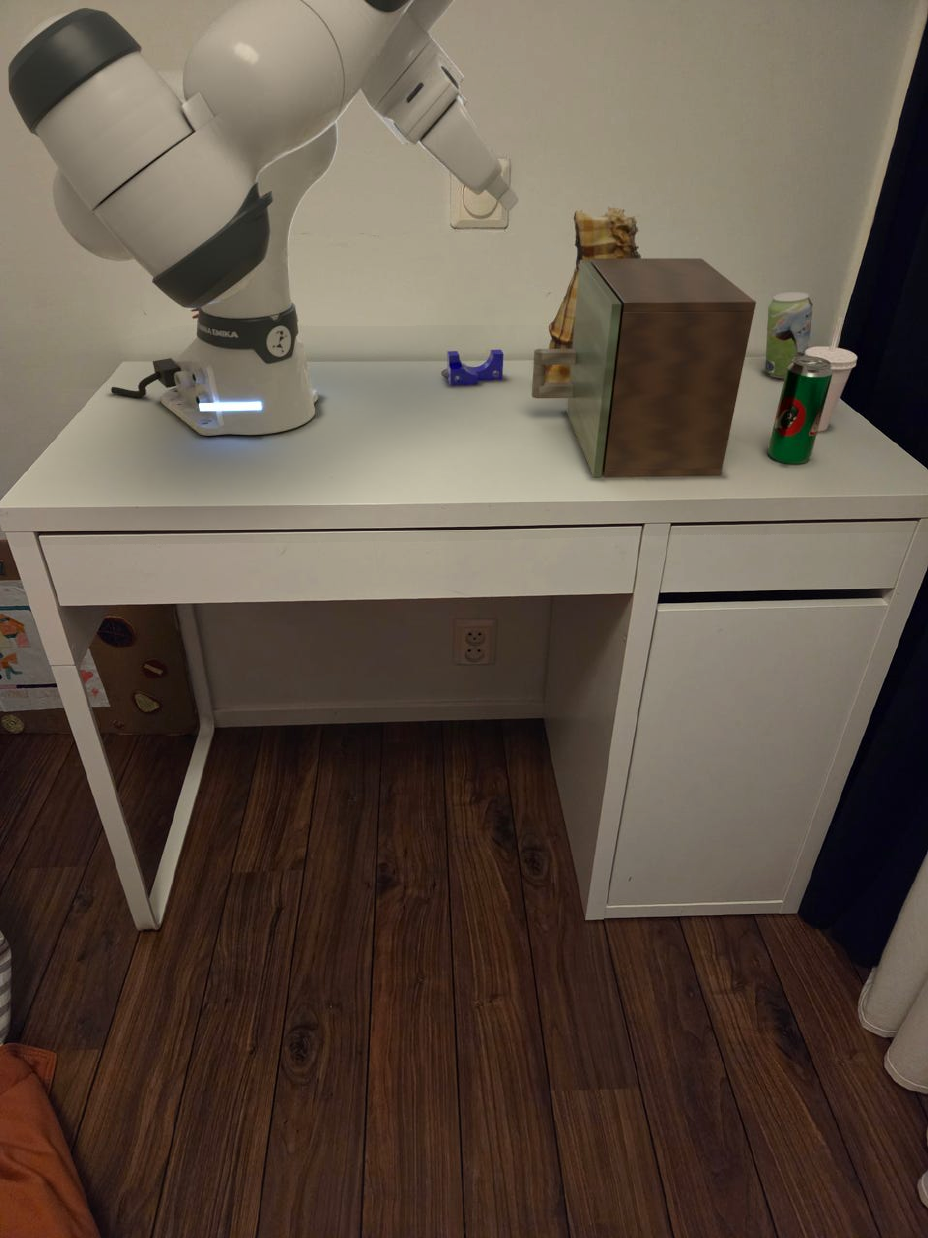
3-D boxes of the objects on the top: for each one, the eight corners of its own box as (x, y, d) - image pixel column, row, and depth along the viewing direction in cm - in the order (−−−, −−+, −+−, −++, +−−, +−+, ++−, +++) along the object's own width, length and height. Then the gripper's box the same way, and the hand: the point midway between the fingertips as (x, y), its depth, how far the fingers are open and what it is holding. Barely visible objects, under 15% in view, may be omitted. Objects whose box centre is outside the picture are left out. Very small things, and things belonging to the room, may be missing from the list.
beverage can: (810, 382, 127) (831, 299, 120) (761, 382, 127) (779, 299, 120) (797, 368, 132) (816, 288, 125) (750, 368, 132) (766, 287, 125)
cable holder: (450, 386, 124) (450, 358, 122) (447, 377, 127) (447, 351, 125) (504, 383, 125) (505, 356, 123) (499, 375, 128) (500, 349, 126)
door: (548, 477, 99) (561, 303, 88) (528, 413, 115) (536, 259, 104) (601, 477, 99) (621, 303, 88) (574, 412, 116) (587, 259, 104)
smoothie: (839, 421, 115) (869, 315, 106) (835, 438, 110) (866, 329, 102) (790, 413, 117) (816, 309, 109) (784, 430, 112) (810, 322, 104)
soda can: (811, 468, 102) (838, 370, 95) (768, 464, 103) (791, 366, 96) (806, 451, 106) (831, 356, 100) (765, 447, 107) (786, 352, 100)
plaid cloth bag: (546, 352, 134) (559, 186, 115) (634, 362, 132) (661, 195, 113) (533, 403, 125) (544, 231, 106) (627, 414, 123) (655, 241, 104)
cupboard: (603, 478, 100) (624, 302, 88) (575, 413, 116) (589, 258, 104) (720, 476, 100) (756, 301, 89) (676, 412, 117) (701, 258, 105)
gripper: (401, 113, 96) (484, 208, 103) (400, 133, 80) (500, 245, 86) (440, 67, 94) (523, 167, 100) (448, 77, 77) (547, 197, 84)
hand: (512, 203), depth 93 cm, fingers closed
